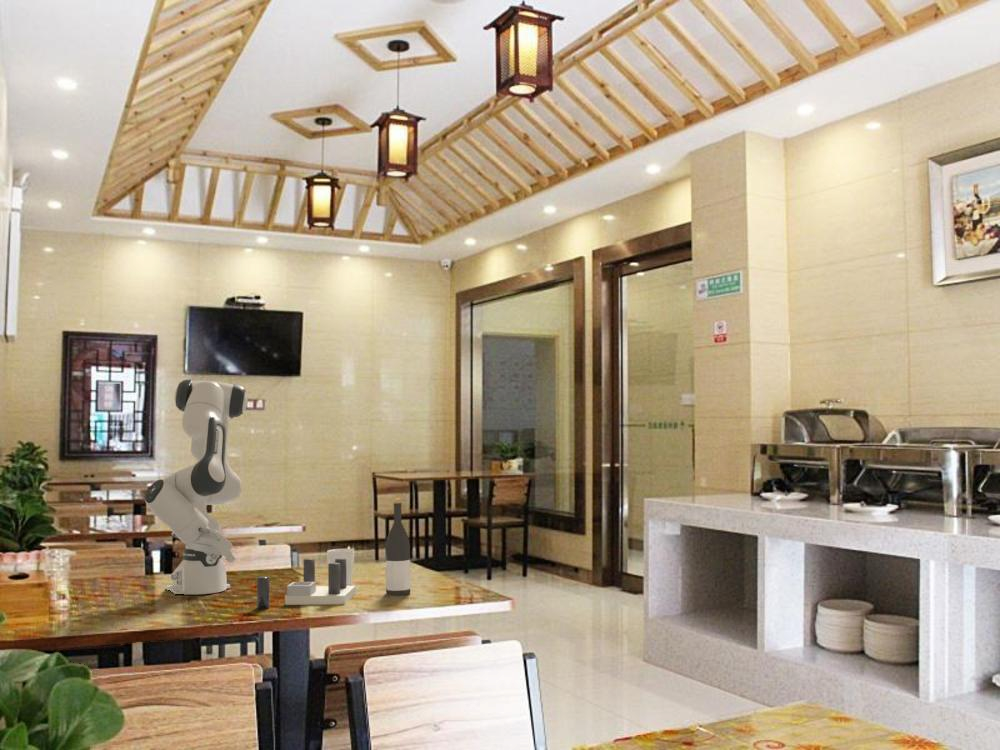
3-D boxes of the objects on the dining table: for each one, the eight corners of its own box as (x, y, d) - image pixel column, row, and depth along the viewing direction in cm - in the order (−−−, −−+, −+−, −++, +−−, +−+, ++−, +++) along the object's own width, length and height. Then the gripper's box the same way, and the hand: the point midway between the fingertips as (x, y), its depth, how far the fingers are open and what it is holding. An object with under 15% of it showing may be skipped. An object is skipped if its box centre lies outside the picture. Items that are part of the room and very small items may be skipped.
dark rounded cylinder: (254, 608, 269) (254, 577, 270) (265, 606, 272) (265, 576, 272) (260, 609, 267) (260, 578, 267) (271, 608, 269) (271, 577, 270)
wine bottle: (406, 596, 286) (405, 499, 288) (381, 595, 288) (381, 499, 290) (414, 591, 294) (413, 497, 296) (390, 591, 296) (389, 497, 298)
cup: (348, 589, 300) (348, 552, 301) (322, 588, 302) (322, 551, 303) (358, 584, 309) (358, 548, 310) (332, 584, 311) (332, 548, 312)
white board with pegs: (285, 604, 274) (285, 566, 275) (299, 594, 292) (299, 557, 293) (344, 604, 274) (344, 565, 275) (355, 593, 292) (355, 557, 292)
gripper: (217, 520, 250) (249, 553, 256) (183, 517, 264) (215, 547, 271) (201, 538, 246) (235, 571, 252) (168, 533, 261) (201, 564, 267)
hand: (224, 559), depth 262 cm, fingers open, 8 cm apart
